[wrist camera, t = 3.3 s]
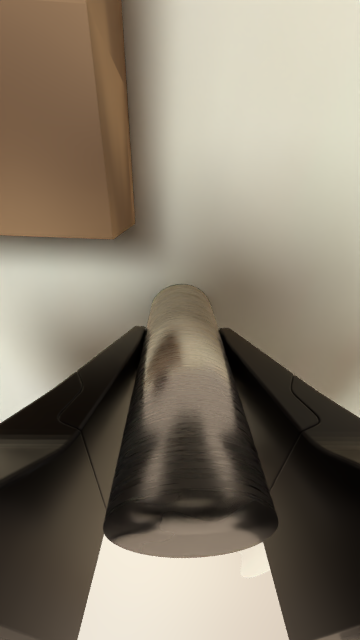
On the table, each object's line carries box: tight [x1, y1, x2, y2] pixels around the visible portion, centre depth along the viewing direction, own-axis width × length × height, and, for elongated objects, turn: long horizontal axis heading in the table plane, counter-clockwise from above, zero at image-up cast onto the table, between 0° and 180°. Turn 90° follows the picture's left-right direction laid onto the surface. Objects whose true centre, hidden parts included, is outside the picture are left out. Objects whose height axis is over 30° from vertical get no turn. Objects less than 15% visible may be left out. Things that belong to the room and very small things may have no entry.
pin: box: [103, 284, 279, 558], centre depth 7 cm, size 3×3×8 cm
